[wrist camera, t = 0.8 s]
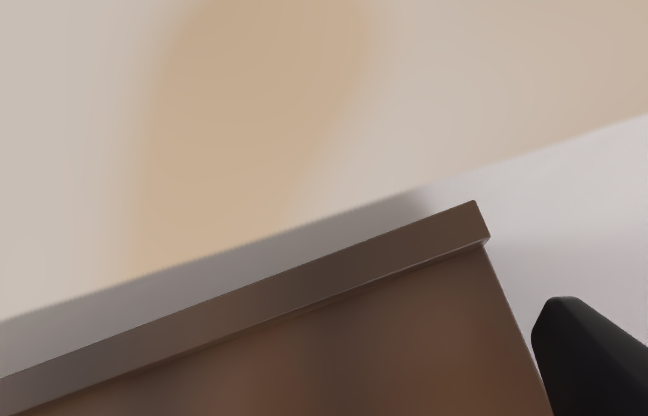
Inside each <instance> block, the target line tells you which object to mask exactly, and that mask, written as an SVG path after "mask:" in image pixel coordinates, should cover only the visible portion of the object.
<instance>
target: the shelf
mask: <svg viewBox="0 0 648 416" xmlns="http://www.w3.org/2000/svg"><path fill="white" fill-rule="evenodd" d="M490 237H491V236H490V233H489V231H488V228H487V226H486V224H485V222H484V219H483V217H482V215H481V212H480V210H479V208H478V206H477V203H476V201H475V200H472V201H469V202H466V203H464V204H461V205H458V206H456V207H453V208H450V209H448V210H445V211H443V212H440V213H437V214H435V215H432V216H429V217H427V218H424V219H421V220H419V221H416V222H413V223H411V224H408V225H406V226H403V227H400V228H398V229H395V230H392V231H390V232H387V233H384V234H382V235H379V236H376V237H374V238H371V239H369V240H366V241H363V242H361V243H358V244H355V245H353V246H350V247H347V248H345V249H342V250H339V251H337V252H334V253H332V254H329V255H326V256H324V257H321V258H318V259H316V260H313V261H310V262H308V263H305V264H302V265H300V266H297V267H295V268H292V269H289V270H287V271H284V272H281V273H279V274H276V275H273V276H271V277H268V278H265V279H263V280H260V281H258V282H255V283H252V284H250V285H247V286H244V287H242V288H239V289H236V290H234V291H231V292H228V293H226V294H223V295H221V296H218V297H215V298H213V299H210V300H207V301H205V302H202V303H199V304H197V305H194V306H191V307H189V308H186V309H184V310H181V311H178V312H176V313H173V314H170V315H168V316H165V317H162V318H160V319H157V320H154V321H152V322H149V323H147V324H144V325H141V326H139V327H136V328H133V329H131V330H128V331H125V332H123V333H120V334H117V335H115V336H112V337H110V338H107V339H104V340H102V341H99V342H96V343H94V344H91V345H88V346H86V347H83V348H80V349H78V350H75V351H73V352H70V353H67V354H65V355H62V356H59V357H57V358H54V359H51V360H49V361H46V362H43V363H41V364H38V365H36V366H33V367H30V368H28V369H25V370H22V371H20V372H17V373H14V374H12V375H9V376H6V377H4V378H1V379H0V416H554V415H553V412H552V409H551V406H550V403H549V399H548V396H547V393H546V390H545V387H544V385H543V382H542V380H541V378H540V375H539V373H538V371H537V368H536V366H535V364H534V361H533V359H532V357H531V355H530V352H529V350H528V348H527V345H526V343H525V341H524V338H523V336H522V334H521V331H520V329H519V327H518V325H517V322H516V320H515V318H514V315H513V313H512V311H511V308H510V306H509V304H508V301H507V299H506V297H505V295H504V292H503V290H502V288H501V285H500V283H499V281H498V278H497V276H496V274H495V271H494V269H493V267H492V265H491V262H490V260H489V258H488V255H487V253H486V251H485V248H484V245H485V244H486V242H487V241H488V240H489V238H490Z"/></svg>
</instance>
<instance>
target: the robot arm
mask: <svg viewBox="0 0 648 416" xmlns="http://www.w3.org/2000/svg"><path fill="white" fill-rule="evenodd" d="M531 344H532V348H533V351H534V354H535V358H536V361H537V364H538V367H539V370H540V374H541V377H542V380H543V383H544V387H545V390H546V393H547V396H548V399H549V403H550V406H551V409H552V412H553V415H554V416H648V347H646V346H645V345H644V344H642V343H641V342H639V341H638V340H637V339H635V338H634V337H632V336H631V335H629V334H628V333H627V332H625V331H624V330H622V329H621V328H620V327H618V326H617V325H615V324H614V323H612V322H611V321H610V320H608V319H607V318H605V317H604V316H603V315H601V314H600V313H598V312H597V311H595V310H594V309H593V308H591V307H590V306H588V305H587V304H586V303H584V302H583V301H581V300H580V299H578V298H576V297H571V296H568V297H552V298H550V299H549V300H547V302H546V303H545V305H544V307H543V309H542V311H541V313H540V315H539V317H538V319H537V321H536V323H535V325H534V327H533V329H532V333H531Z"/></svg>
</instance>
